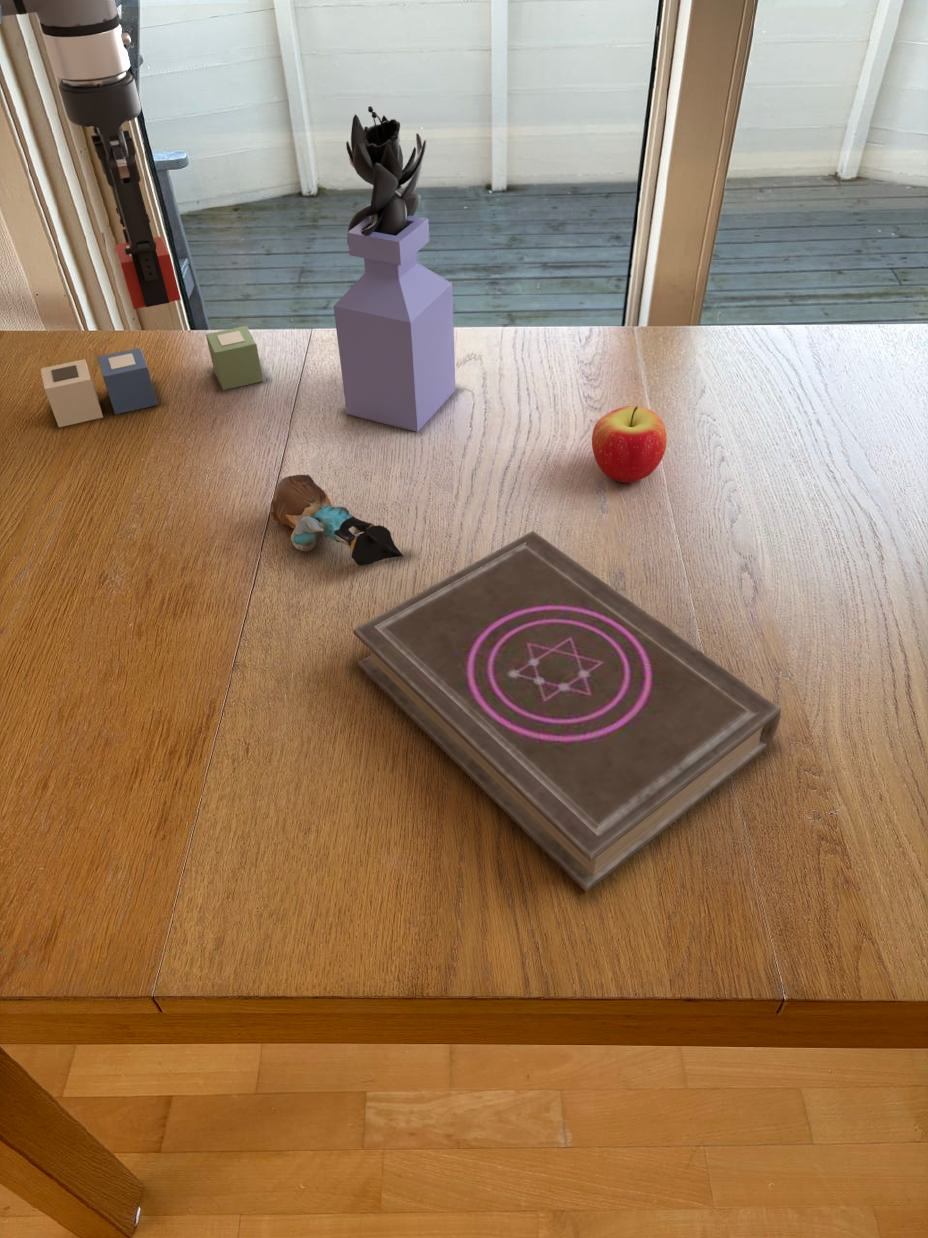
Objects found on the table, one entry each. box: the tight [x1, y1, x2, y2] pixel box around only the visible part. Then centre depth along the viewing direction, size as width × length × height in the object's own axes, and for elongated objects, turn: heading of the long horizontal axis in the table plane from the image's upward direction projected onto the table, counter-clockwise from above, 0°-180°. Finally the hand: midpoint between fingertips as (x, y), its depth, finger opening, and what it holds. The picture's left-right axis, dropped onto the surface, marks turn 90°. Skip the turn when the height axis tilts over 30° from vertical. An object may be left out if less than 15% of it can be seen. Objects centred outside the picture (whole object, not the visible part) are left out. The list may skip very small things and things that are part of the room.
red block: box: [113, 235, 182, 310], centre depth 111 cm, size 6×6×6 cm
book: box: [352, 530, 782, 893], centre depth 84 cm, size 30×22×5 cm
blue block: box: [96, 347, 159, 415], centre depth 122 cm, size 6×6×6 cm
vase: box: [333, 106, 457, 433], centre depth 111 cm, size 14×12×35 cm
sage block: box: [205, 325, 264, 391], centre depth 126 cm, size 6×6×6 cm
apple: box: [591, 405, 668, 483], centre depth 107 cm, size 8×8×10 cm
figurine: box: [269, 474, 405, 567], centre depth 100 cm, size 8×16×6 cm, turn 48°
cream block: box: [40, 359, 104, 428], centre depth 120 cm, size 6×6×6 cm
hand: (153, 292), depth 113 cm, fingers closed on red block, 5 cm apart
